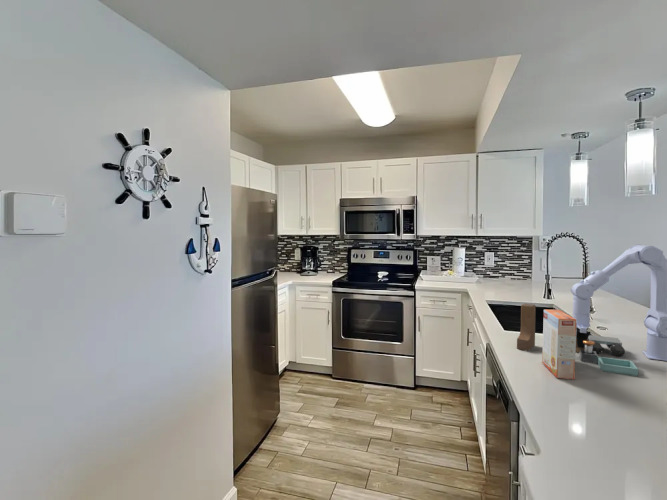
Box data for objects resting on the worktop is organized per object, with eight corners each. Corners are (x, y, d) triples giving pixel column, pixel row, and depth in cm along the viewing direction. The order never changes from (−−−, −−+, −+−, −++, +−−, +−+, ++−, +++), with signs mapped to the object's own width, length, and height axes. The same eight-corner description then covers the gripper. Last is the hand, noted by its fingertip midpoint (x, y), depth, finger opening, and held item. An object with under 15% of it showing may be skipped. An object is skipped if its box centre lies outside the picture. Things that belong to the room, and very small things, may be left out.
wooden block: (528, 351, 144) (528, 308, 143) (516, 348, 147) (517, 306, 146) (535, 345, 150) (535, 304, 149) (523, 343, 153) (524, 303, 152)
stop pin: (593, 359, 134) (593, 340, 134) (594, 362, 131) (595, 343, 131) (581, 357, 136) (582, 339, 136) (583, 360, 133) (583, 342, 133)
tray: (631, 367, 126) (631, 360, 126) (637, 376, 119) (638, 369, 119) (597, 362, 131) (597, 356, 131) (601, 370, 124) (601, 364, 124)
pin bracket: (595, 358, 135) (595, 351, 135) (597, 363, 130) (597, 355, 130) (579, 356, 137) (579, 349, 137) (581, 361, 133) (581, 353, 133)
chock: (587, 351, 143) (587, 339, 143) (588, 354, 140) (589, 342, 139) (572, 349, 146) (572, 337, 145) (573, 352, 142) (574, 340, 142)
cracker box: (576, 380, 117) (577, 319, 116) (555, 378, 119) (557, 318, 117) (559, 363, 131) (560, 309, 129) (541, 362, 132) (542, 308, 131)
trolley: (618, 348, 144) (618, 336, 144) (624, 357, 135) (625, 344, 135) (584, 344, 150) (585, 333, 150) (588, 352, 141) (589, 340, 140)
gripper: (567, 307, 150) (566, 338, 151) (571, 316, 137) (570, 349, 138) (587, 309, 147) (586, 341, 148) (593, 317, 134) (592, 352, 135)
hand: (580, 345), depth 143 cm, fingers open, 4 cm apart
